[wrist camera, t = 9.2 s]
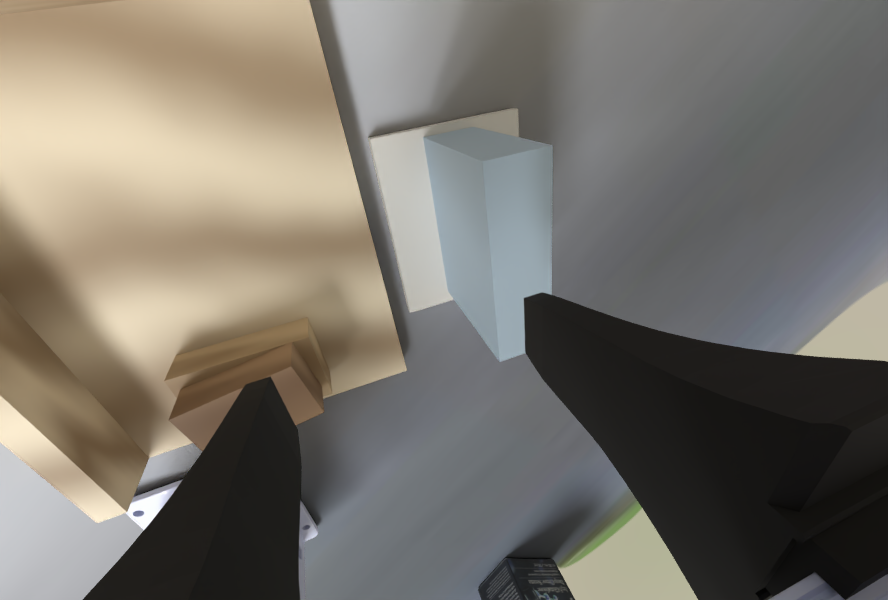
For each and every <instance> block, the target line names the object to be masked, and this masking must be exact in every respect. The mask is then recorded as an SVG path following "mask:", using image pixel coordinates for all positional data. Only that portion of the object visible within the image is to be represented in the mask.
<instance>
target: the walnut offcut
mask: <svg viewBox="0 0 888 600" xmlns="http://www.w3.org/2000/svg"><path fill="white" fill-rule="evenodd" d="M270 376H271V378H272V380H273V382H274V384H275V386H276V388H277V390H278V392H279V394H280V396H281V398H282V400H283V402H284V404H285V406H286V408H287V410H288V412H289V414H290V416H291V418H292V420H293V422H294V424H295V426H296V425H298V424H300V423H302V422H304V421H307V420H309V419H311V418H313V417H315V416H317V415H320V414H322V413H324V404H323V392H322V385H321V384H320V382H319V381H318V380H317V378H316V377H315V375H314V374H313V372H312V371H311V369H310V368H309V366H308V365H307V363H306V362H305V360H304V359H303V357H302V356H301V354H300V353H299V352H298V350H297V349H296V347H295V346H294V344H293V343H292V342H290V343H287V344H285V345H283V346H280V347H278V348H276V349H273V350H271V351H269V352H267V353H264V354H262V355H260V356H257V357H255V358H253V359H250V360H248V361H246V362H243V363H241V364H239V365H236V366H234V367H232V368H230V369H227V370H225V371H223V372H220V373H218V374H216V375H213V376H211V377H209V378H206V379H204V380H202V381H199V382H197V383H195V384H192V385H190V386H188V387H186V388H183V389H181V390H180V392H179V394H178V397H177V399H176V402H175V405H174V407H173V410H172V412H171V415H170V417H169V421H170V422H171V423H172V424H173V425H174V426H175V427H176V428H177V429H178V430H180V431H181V432H182V433H183V434H184V435H185V436H186V437H187V438H188V439H189V440H191V441H192V442H193V443H194V444H195V445H196V446H197V447H198V448H199V449H200V450H202V451H203V450H204V449H205V447H206V446H207V444H208V443H209V441H210V440H211V438H212V436H213V435H214V433H215V432H216V430H217V429H218V427H219V426H220V424H221V422H222V421H223V419H224V418H225V416H226V414H227V413H228V411H229V410H230V408H231V406H232V405H233V403H234V402H235V400H236V398H237V397H238V395H239V394H240V392H241V391H242V389H243V388H244V386H245V384H248V383H251V382H254V381H258V380H261V379H264V378H267V377H270Z"/></svg>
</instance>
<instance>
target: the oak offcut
mask: <svg viewBox="0 0 888 600" xmlns="http://www.w3.org/2000/svg"><path fill="white" fill-rule="evenodd" d="M290 342H292V343H293V344H294V346H295V347H296V349H297V350H298V352H299V353H300V354H301V356H302V357H303V359H304V360H305V362H306V363H307V365H308V366H309V368H310V369H311V371H312V372H313V374H314V375H315V377H316V378H317V380H318V381H319V382H320V384H321V385H322V392H323V397H324V396H327V395H330V394H332V385H331V376H330V370H329V368H328V365H327V363H326V360H325V358H324V355H323V353H322V351H321V348H320V346H319V343H318V341H317V338H316V336H315V334H314V331H313V329H312V326H311V324H310V321H309V319H308V317H306V318H303V319H299V320H296V321H292V322H289V323H286V324H282V325H279V326H275V327H272V328H269V329H265V330H262V331H258V332H255V333H251V334H248V335H245V336H241V337H238V338H234V339H231V340H228V341H224V342H221V343H217V344H214V345H211V346H207V347H204V348H200V349H197V350H193V351H190V352H187V353H183V354H180V355H176V356H175V358H174V360H173V362H172V365H171V367H170V369H169V371H168V373H167V376H166V378H165V380H164V382H165V383H166V384H167V386H168V387H169V388H170V390H171V391H172V393H173V394H174V395H175V397H176V398H177V397H178V394H179V392H180V390H181V389H183V388H186V387H188V386H190V385H192V384H195V383H197V382H199V381H202V380H204V379H206V378H209V377H211V376H213V375H216V374H218V373H220V372H223V371H225V370H227V369H230V368H232V367H234V366H236V365H239V364H241V363H243V362H246V361H248V360H250V359H253V358H255V357H257V356H260V355H262V354H264V353H267V352H269V351H271V350H273V349H276V348H278V347H280V346H283V345H285V344H287V343H290Z"/></svg>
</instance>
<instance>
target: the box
mask: <svg viewBox="0 0 888 600" xmlns="http://www.w3.org/2000/svg"><path fill="white" fill-rule="evenodd" d="M478 591H479V594H480V597H481V600H575V599H574V597H573V595H572V593H571V591H570V589H569V588H568V586H567V584H566V582H565V580H564V578H563V576H562V575H561V573H560V571H559V569H558V567H557V565H556V563H555V562H554V560H552V559H547V560H546V559H515V558H505V559H504V560H503V561H502V562H501V563H500V564H499V565H498V567H497V568H496V569H495V570H494V571H493V572H492V573H491V574H490V576H489V577H488V578H487V579H486V580H485V581H484V582H483V583H482V584H481V586H480V587H479V589H478Z"/></svg>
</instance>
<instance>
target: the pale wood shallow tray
mask: <svg viewBox="0 0 888 600" xmlns="http://www.w3.org/2000/svg"><path fill="white" fill-rule="evenodd" d="M306 317H308V319H309V321H310V324H311V326H312V329H313V331H314V334H315V336H316V338H317V341H318V343H319V346H320V348H321V351H322V353H323V355H324V358H325V360H326V363H327V365H328V368H329V370H330V376H331V385H332V394H330V395H327V396H324V397H323V399H324V398H327V397H330V396H333V395H336V394H339V393H342V392H345V391H348V390H351V389H354V388H357V387H360V386H363V385H366V384H368V383H371V382H374V381H377V380H380V379H383V378H386V377H389V376H392V375H395V374H398V373H401V372H404V371H407V369H406V365H405V361H404V357H403V353H402V350H401V346H400V342H399V338H398V335H397V331H396V327H395V323H394V319H393V316H392V312H391V308H390V304H389V300H388V297H387V293H386V289H385V285H384V282H383V278H382V274H381V270H380V266H379V263H378V259H377V255H376V251H375V247H374V244H373V240H372V236H371V232H370V228H369V225H368V221H367V217H366V213H365V210H364V206H363V202H362V198H361V194H360V191H359V187H358V183H357V179H356V175H355V172H354V168H353V164H352V160H351V157H350V153H349V149H348V145H347V141H346V138H345V134H344V130H343V126H342V122H341V119H340V115H339V111H338V107H337V104H336V100H335V96H334V92H333V88H332V85H331V81H330V77H329V73H328V69H327V66H326V62H325V58H324V54H323V51H322V47H321V43H320V39H319V35H318V32H317V28H316V24H315V20H314V16H313V13H312V9H311V5H310V1H309V0H0V442H1V443H2V444H3V445H4V446H5V447H7V448H8V449H9V450H10V451H11V452H13V453H14V454H15V455H16V456H17V457H19V458H20V459H21V460H22V461H23V462H25V463H26V464H27V465H28V466H29V467H31V468H32V469H33V470H34V471H35V472H36V473H38V474H39V475H40V476H41V477H42V478H44V479H45V480H46V481H47V482H48V483H50V484H51V485H52V486H53V487H54V488H56V489H57V490H58V491H59V492H60V493H62V494H63V495H64V496H65V497H66V498H68V499H69V500H70V501H71V502H72V503H74V504H75V505H76V506H77V507H78V508H80V509H81V510H82V511H83V512H84V513H86V514H87V515H88V516H89V517H90V518H92V519H93V520H94V521H95V522H96V523H99V522H102V521H105V520H107V519H110V518H113V517H116V516H118V515H121V514H124V513H127V512H128V509H129V507H130V504H131V502H132V499H133V497H134V494H135V492H136V489H137V487H138V484H139V482H140V479H141V477H142V474H143V472H144V469H145V467H146V464H147V462H148V459H149V458H150V457H153V456H156V455H159V454H162V453H165V452H168V451H171V450H174V449H177V448H179V447H182V446H185V445H188V444H191V443H193V442H192V441H191V440H189V439H188V438H187V437H186V436H185V435H184V434H183V433H182V432H181V431H180V430H178V429H177V428H176V427H175V426H174V425H173V424H172V423H171V422H170V421H169V417H170V415H171V412H172V410H173V407H174V405H175V402H176V399H177V398H176V397H175V395H174V394H173V393H172V391H171V390H170V388H169V387H168V386H167V384H166V383H165V382H164V380H165V378H166V376H167V373H168V371H169V369H170V367H171V365H172V362H173V360H174V358H175V356H176V355H180V354H183V353H187V352H190V351H193V350H197V349H200V348H204V347H207V346H211V345H214V344H217V343H221V342H224V341H228V340H231V339H234V338H238V337H241V336H245V335H248V334H251V333H255V332H258V331H262V330H265V329H269V328H272V327H275V326H279V325H282V324H286V323H289V322H292V321H296V320H299V319H303V318H306Z"/></svg>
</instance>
